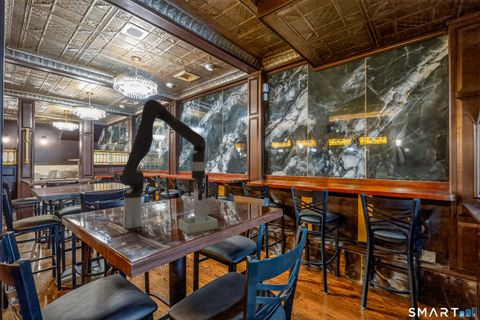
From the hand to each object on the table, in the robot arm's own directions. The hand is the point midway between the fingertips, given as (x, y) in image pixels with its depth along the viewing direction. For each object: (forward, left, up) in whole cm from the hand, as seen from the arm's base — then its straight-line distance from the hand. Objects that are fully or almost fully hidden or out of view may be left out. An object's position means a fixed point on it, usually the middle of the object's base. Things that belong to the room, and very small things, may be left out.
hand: (198, 199), depth 124 cm
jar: (0, 0, -1) cm, 1 cm away
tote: (0, 0, -16) cm, 16 cm away
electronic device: (+16, +29, -16) cm, 37 cm away
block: (0, 0, -16) cm, 16 cm away
